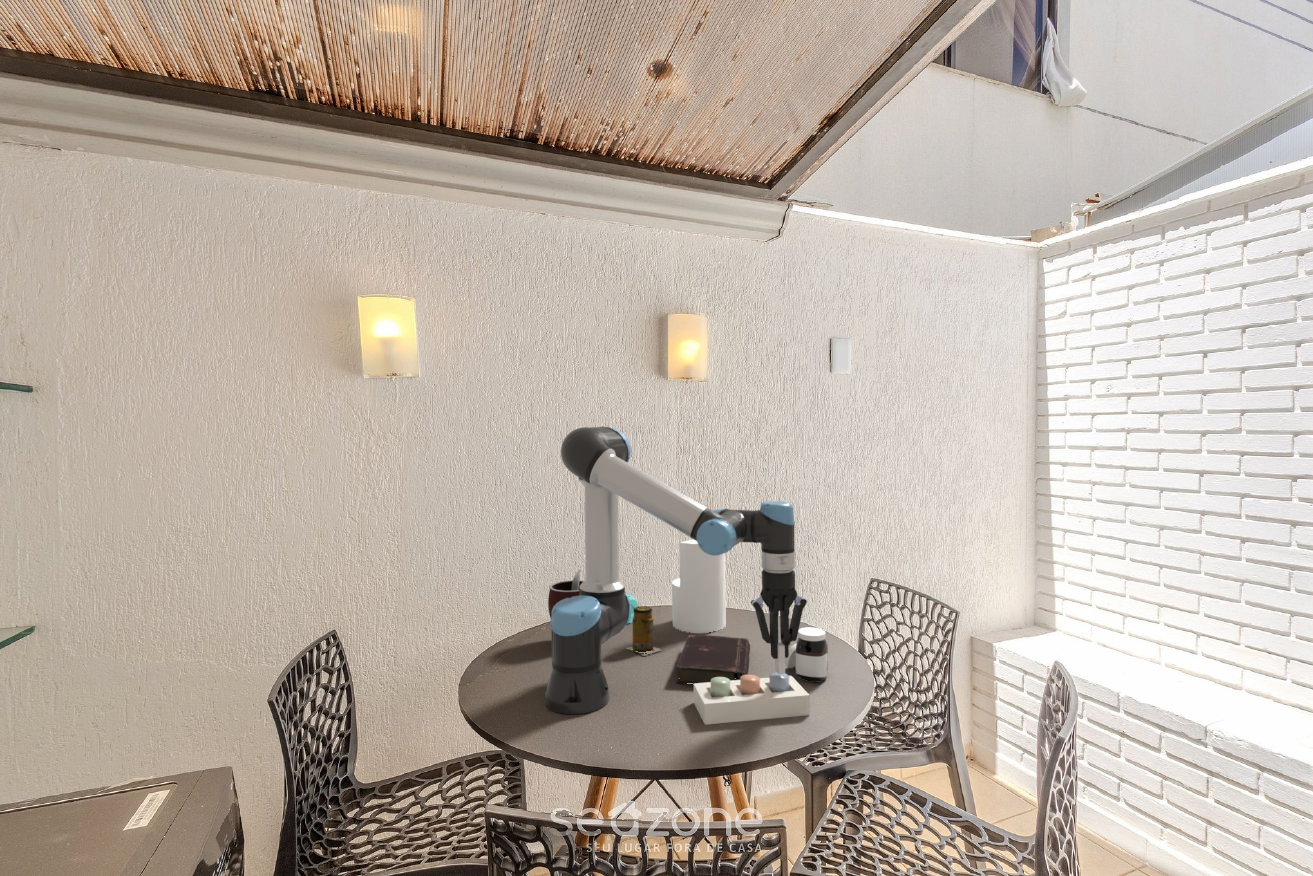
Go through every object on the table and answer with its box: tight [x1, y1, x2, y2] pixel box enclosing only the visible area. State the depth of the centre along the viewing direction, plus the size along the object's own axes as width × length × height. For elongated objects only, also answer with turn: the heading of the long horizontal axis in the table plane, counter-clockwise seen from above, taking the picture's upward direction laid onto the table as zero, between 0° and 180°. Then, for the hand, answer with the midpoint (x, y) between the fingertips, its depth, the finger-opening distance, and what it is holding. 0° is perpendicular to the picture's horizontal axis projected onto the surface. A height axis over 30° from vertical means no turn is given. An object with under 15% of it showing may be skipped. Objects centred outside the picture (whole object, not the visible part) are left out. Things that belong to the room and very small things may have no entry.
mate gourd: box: [547, 569, 585, 619], centre depth 191 cm, size 16×14×20 cm
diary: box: [675, 634, 751, 686], centre depth 169 cm, size 19×25×5 cm
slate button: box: [769, 671, 790, 693], centre depth 145 cm, size 4×4×3 cm
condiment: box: [626, 605, 661, 657], centre depth 183 cm, size 7×8×12 cm
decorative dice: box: [626, 593, 639, 625], centre depth 210 cm, size 8×8×8 cm
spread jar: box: [785, 626, 829, 683], centre depth 164 cm, size 12×11×12 cm
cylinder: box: [671, 539, 727, 634], centre depth 205 cm, size 17×17×28 cm
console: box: [693, 675, 811, 725], centre depth 144 cm, size 24×11×4 cm, turn 99°
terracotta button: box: [740, 674, 761, 695], centre depth 144 cm, size 4×4×3 cm
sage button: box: [711, 677, 730, 698], centre depth 143 cm, size 4×4×3 cm
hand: (780, 671), depth 145 cm, fingers closed
